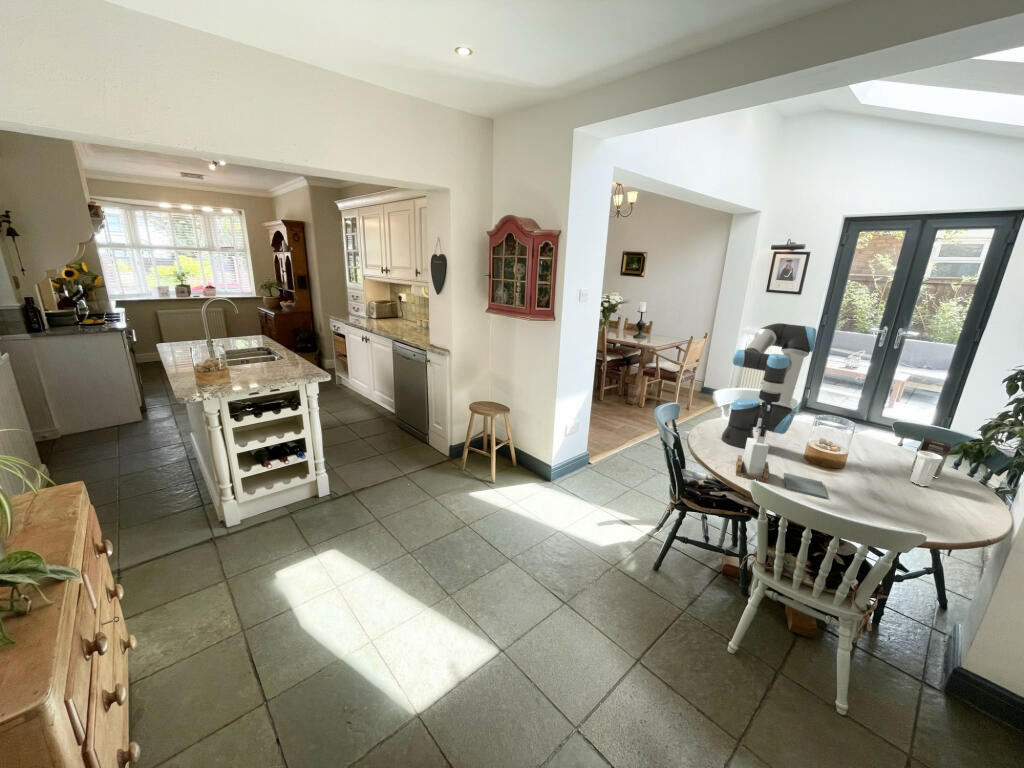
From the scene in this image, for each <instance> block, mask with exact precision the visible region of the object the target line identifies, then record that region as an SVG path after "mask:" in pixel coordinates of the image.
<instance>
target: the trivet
mask: <svg viewBox="0 0 1024 768" xmlns="http://www.w3.org/2000/svg"><path fill="white" fill-rule="evenodd" d="M782 474H783V481H784V485H785V490H788V491H793V492H797V493H800V494H805V495H809V496H813V497H816V498H817V497H818V498H821V499H824V500H827V498H828V495H827V492H826V490H825V487H824V485H823V481H822V480H817V479H812V478H808V477H803V476H799V475H795V474H792V473H786V472H783V473H782Z"/></svg>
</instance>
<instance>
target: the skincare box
mask: <svg viewBox="0 0 1024 768" xmlns="http://www.w3.org/2000/svg"><path fill="white" fill-rule="evenodd" d="M756 441H757V438H755V437H754V438H747V442H746V447H745V448H744V452H743V456H742V467H741V471H742V473H746V474H750V475H754V476H758V477H762V476H763V471H764V467H765V462H767V457H768V452H769V449H770V446H769V445H768V443H767V442H766V441H764V444H761V443H756Z"/></svg>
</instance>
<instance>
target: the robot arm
mask: <svg viewBox="0 0 1024 768" xmlns="http://www.w3.org/2000/svg"><path fill="white" fill-rule="evenodd" d="M816 339H817V329H816V328H815V327H813V326H812V327H811V326H807V325H797V324H789V323H782V322H780V323H779V322H777V323H771V324H768V325H766V326H763V327H762V328H760V329H758V331H757V332H756V333H755V334H754V338H753V339H752V341H751V342H750V343H749V344H748V345H747V346H746V347H745V349H737V350H735V352H734V354H733V358H732V364H733V365H734V366H737V367H740V368H745V369H752V370H757V371H762V372H764V374H763V378H762V381H761V382H760V384H761V386H760V388H761V390H760V391H759V395H758V398H759V399H760V400H762V402H761V403H760V401H759V400H756V399H753V398H737V399H735V400H733V402H732V404H731V405H732V406H731V408H730V409H731V410H730V414H729V418H728V419H729V420H728V422H727V423H728V424H727V426H726V428H725V429H724V431H723V432H722V434H721V441H722V442H724V443H725V444H728V445H729V446H733V447H737V448H742V449H745V447H746V442H747V438H755V436H754V431H753V430H754V428H755V433H758V434H757V438H756V439H757V441H756V443H761V444H764V442H766V441H765V440H766V437H767V432H770V433H773V434H780V435H784V434H786V433H787V431H788V430H789V429H790V427H791V425H792V422H793V420H794V417H795V415H796V414H795V413H794V411H793V407H792V406H791V402H792V399H793V395H794V393H795V389H796V386H797V383H798V380H799V376H800V374H801V370H802V365H803V362H804V360H805V358H806V357H808V356H809V355H810V353H812V352H815V348H816V347H815V346H816ZM770 347H779V348H781V352H782V354H781V353H770V354H769V353H766V352H767V350H768V349H769V348H770Z"/></svg>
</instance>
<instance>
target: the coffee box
mask: <svg viewBox="0 0 1024 768" xmlns="http://www.w3.org/2000/svg"><path fill="white" fill-rule="evenodd" d="M951 449H952V445H951V443H948V442H945V441H940V440H937V439H934V438H929V437H923V438H922V441H921V443H920V445H919V447H918V450H917V452H918V451H927V452H932V453H935V454H938V455H940V456H942V457H943V460H942V461H941V462H940V464H939V466H938V468H937V470H936V472H935V474H934V476H935V477H939V478H940V475H941V473H942V470H943V468H944V465H945V463H946V460H947V458H948V455H949V453H950V451H951ZM916 459H917V454H916V456H915V458H914V460H913V463H912V465H911V467H912V470H911V472H912V471H913V469H914V466H915V463H916Z"/></svg>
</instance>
